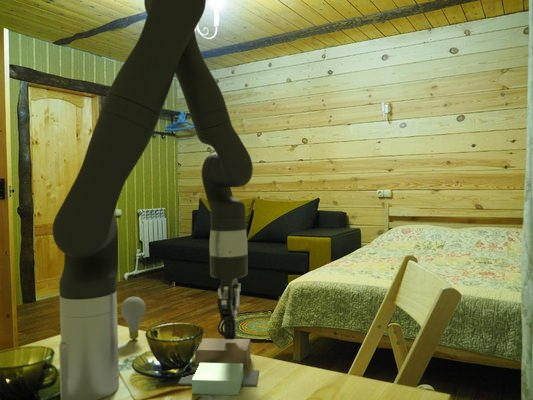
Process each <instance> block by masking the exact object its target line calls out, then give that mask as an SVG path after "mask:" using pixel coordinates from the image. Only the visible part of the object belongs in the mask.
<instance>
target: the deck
mask: <svg viewBox="0 0 533 400" xmlns="http://www.w3.org/2000/svg"><path fill="white" fill-rule="evenodd" d="M201 339H202V342H201V344H200V345H199V347H198V349H197V350H196V351H195V350H194V359H195V360H194V362H195V364H194V366H195V365H199V363H235V364H243V370H249V365H250V361H251V339H250V338H235V339H225V338H213V337H212V338H210V337H209V338H207V337H206V338H205V337H203V338H201Z"/></svg>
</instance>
